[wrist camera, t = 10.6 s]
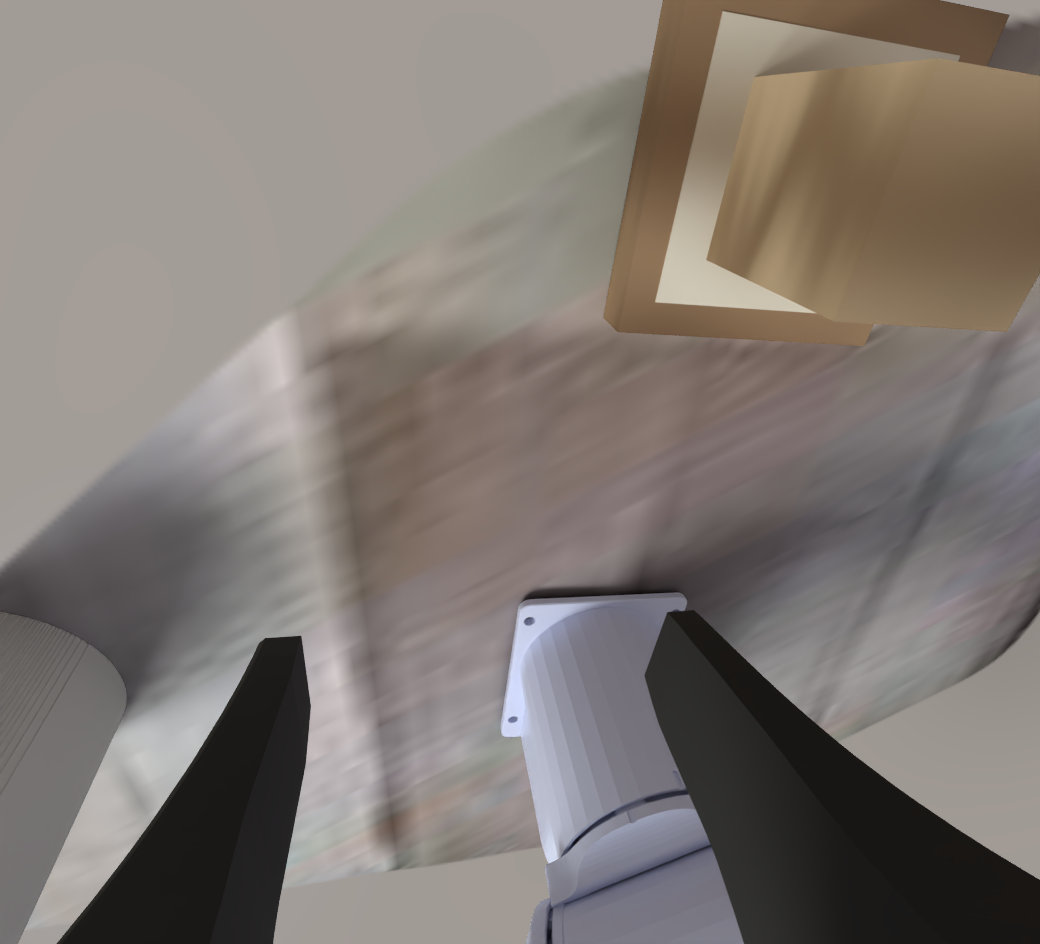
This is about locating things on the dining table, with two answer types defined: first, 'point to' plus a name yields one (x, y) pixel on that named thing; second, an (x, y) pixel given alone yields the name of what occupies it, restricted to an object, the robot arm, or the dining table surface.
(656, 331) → the picture frame
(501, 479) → the dining table surface
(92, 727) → the cup
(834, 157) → the oak block
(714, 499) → the dining table surface
